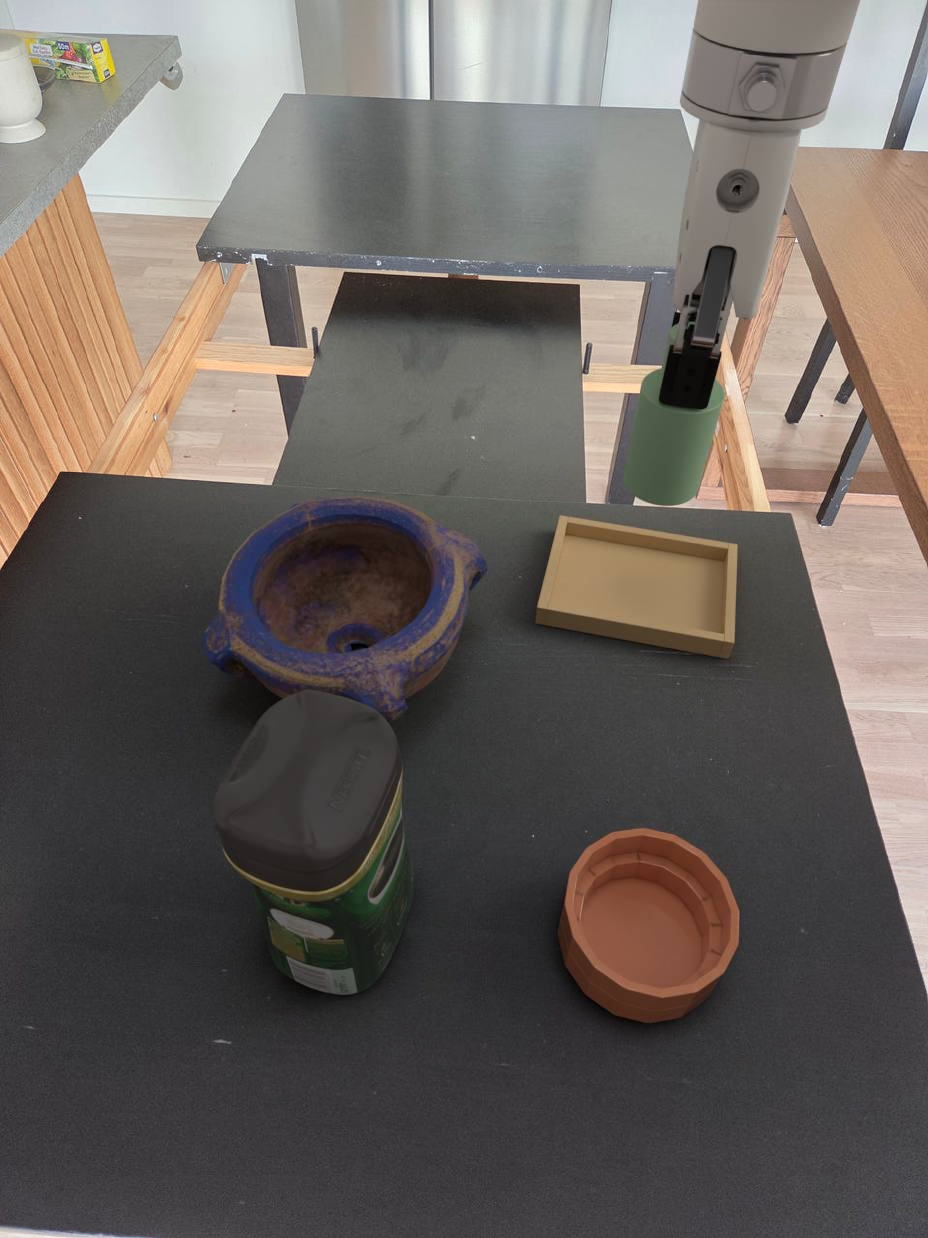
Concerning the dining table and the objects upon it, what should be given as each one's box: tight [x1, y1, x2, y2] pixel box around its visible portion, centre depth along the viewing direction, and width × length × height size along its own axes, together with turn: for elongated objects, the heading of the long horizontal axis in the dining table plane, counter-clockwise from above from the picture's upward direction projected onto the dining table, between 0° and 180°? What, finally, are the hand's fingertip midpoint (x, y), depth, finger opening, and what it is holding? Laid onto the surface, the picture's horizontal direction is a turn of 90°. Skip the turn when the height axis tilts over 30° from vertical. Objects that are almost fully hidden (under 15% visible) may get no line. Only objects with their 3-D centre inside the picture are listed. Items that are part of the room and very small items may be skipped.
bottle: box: [622, 322, 726, 507], centre depth 59 cm, size 6×6×12 cm
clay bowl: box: [557, 827, 740, 1024], centre depth 50 cm, size 10×10×5 cm
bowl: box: [201, 496, 488, 723], centre depth 63 cm, size 18×18×10 cm
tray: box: [534, 515, 739, 660], centre depth 71 cm, size 16×12×2 cm
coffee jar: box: [212, 689, 416, 996], centre depth 46 cm, size 10×8×19 cm
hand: (684, 384), depth 57 cm, fingers closed on bottle, 3 cm apart
